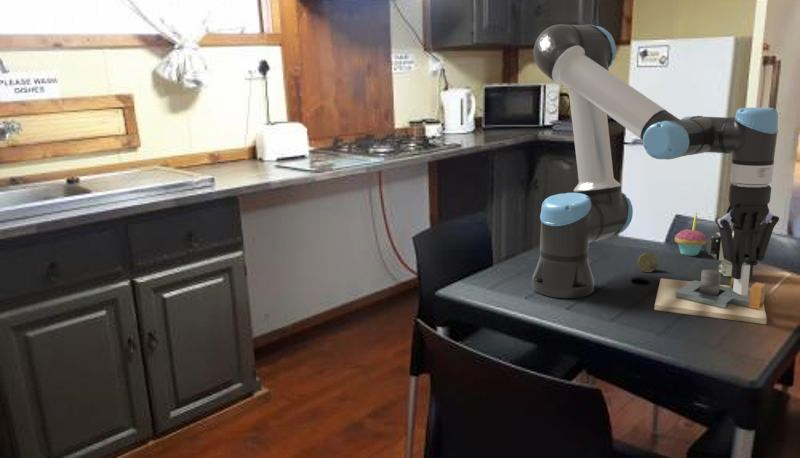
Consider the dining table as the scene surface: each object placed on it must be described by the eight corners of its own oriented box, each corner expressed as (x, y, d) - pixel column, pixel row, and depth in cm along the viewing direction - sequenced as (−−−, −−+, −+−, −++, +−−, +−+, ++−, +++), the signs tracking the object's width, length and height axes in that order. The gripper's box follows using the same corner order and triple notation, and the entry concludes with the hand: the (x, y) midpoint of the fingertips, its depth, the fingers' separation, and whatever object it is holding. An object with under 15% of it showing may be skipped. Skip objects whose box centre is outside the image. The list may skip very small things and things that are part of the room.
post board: (654, 309, 140) (656, 279, 138) (660, 282, 158) (662, 255, 156) (766, 324, 131) (770, 292, 129) (759, 293, 148) (763, 265, 146)
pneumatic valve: (757, 279, 158) (763, 233, 155) (708, 277, 161) (712, 232, 158) (750, 272, 164) (755, 228, 161) (702, 270, 166) (707, 227, 163)
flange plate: (675, 296, 144) (677, 276, 143) (693, 284, 151) (695, 265, 150) (752, 314, 132) (755, 292, 131) (769, 300, 140) (771, 279, 139)
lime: (659, 271, 166) (661, 254, 165) (645, 274, 164) (646, 256, 163) (647, 267, 170) (648, 249, 169) (633, 269, 168) (634, 252, 167)
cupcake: (682, 247, 187) (685, 209, 184) (711, 253, 181) (714, 213, 178) (668, 253, 182) (671, 213, 179) (696, 259, 175) (700, 218, 172)
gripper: (732, 188, 123) (722, 300, 129) (793, 185, 124) (780, 296, 130) (709, 182, 130) (701, 289, 136) (767, 179, 132) (756, 285, 137)
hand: (740, 292), depth 133 cm, fingers closed
